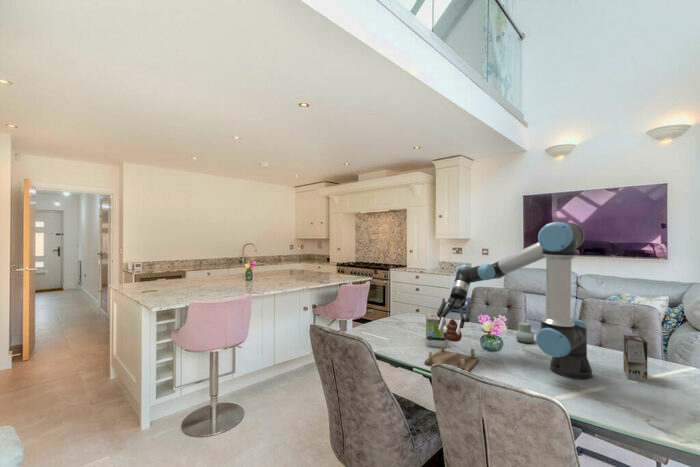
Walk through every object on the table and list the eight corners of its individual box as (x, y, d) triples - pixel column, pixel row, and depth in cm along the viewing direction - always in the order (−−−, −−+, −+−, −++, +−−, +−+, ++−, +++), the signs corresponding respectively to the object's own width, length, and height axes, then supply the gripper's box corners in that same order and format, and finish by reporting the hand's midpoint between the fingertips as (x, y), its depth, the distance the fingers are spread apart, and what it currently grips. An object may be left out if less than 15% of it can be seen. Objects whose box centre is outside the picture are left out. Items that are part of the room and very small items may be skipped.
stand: (478, 360, 151) (478, 349, 151) (466, 374, 136) (466, 361, 136) (439, 352, 162) (439, 341, 162) (424, 364, 147) (424, 352, 147)
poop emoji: (461, 343, 143) (462, 322, 143) (441, 340, 146) (442, 320, 146) (461, 336, 153) (462, 317, 152) (443, 334, 155) (443, 314, 155)
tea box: (446, 347, 169) (445, 319, 169) (426, 346, 171) (426, 318, 171) (443, 338, 184) (443, 313, 184) (425, 337, 186) (425, 312, 186)
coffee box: (648, 382, 128) (647, 342, 128) (627, 379, 131) (626, 339, 131) (642, 374, 135) (642, 336, 136) (623, 371, 139) (622, 334, 139)
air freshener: (533, 345, 172) (533, 326, 172) (515, 342, 176) (515, 324, 176) (533, 339, 181) (533, 322, 181) (517, 337, 185) (517, 320, 186)
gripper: (482, 298, 156) (473, 340, 143) (441, 294, 168) (429, 332, 155) (479, 289, 151) (469, 331, 138) (437, 285, 164) (425, 323, 150)
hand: (448, 331), depth 147 cm, fingers closed on poop emoji, 7 cm apart
